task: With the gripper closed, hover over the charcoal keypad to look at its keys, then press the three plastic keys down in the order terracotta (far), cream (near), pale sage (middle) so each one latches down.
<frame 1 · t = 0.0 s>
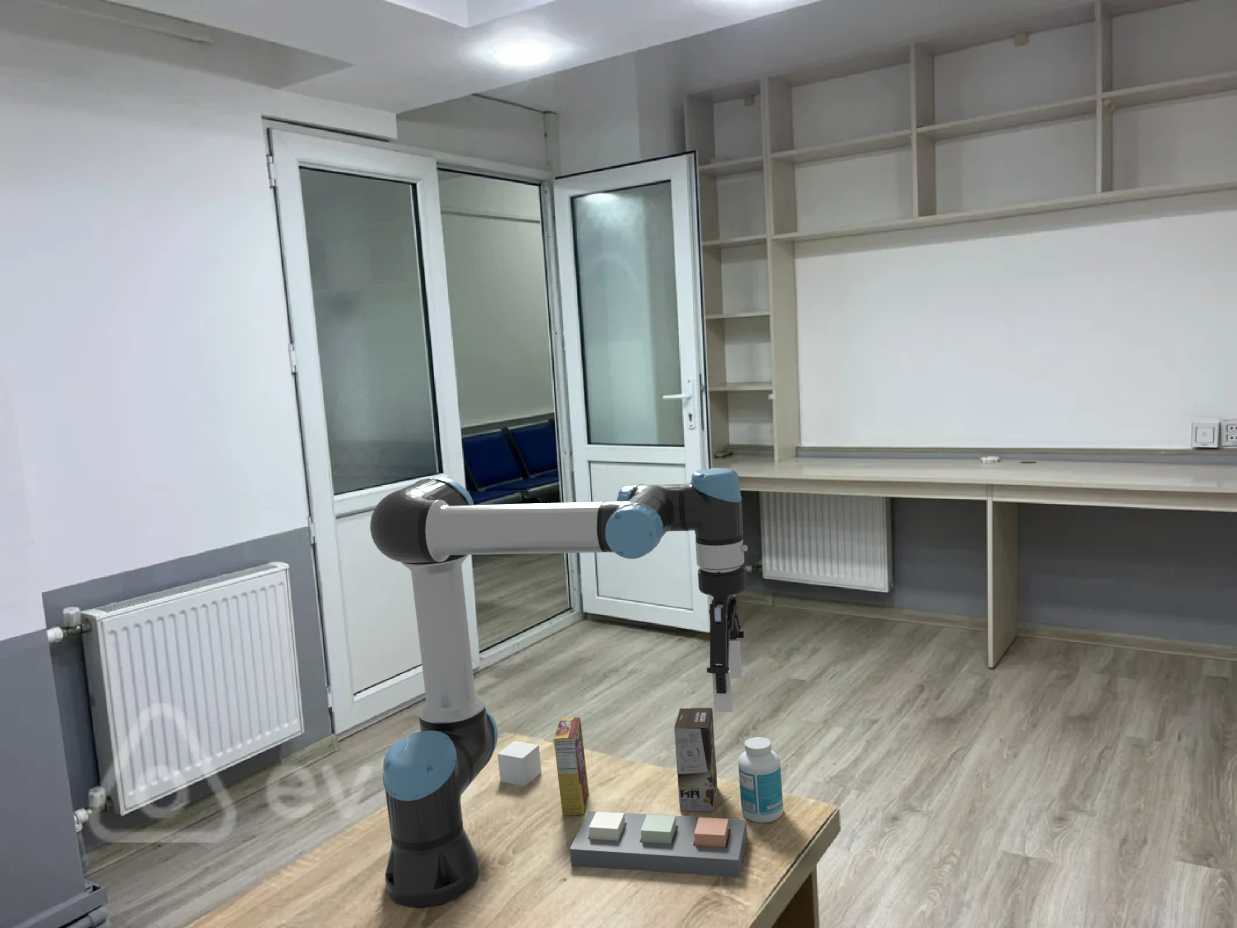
hand: (728, 693, 149), 28 cm above the table, tool pointing down, fingers open, 13 cm apart
white cube: (521, 778, 185), on the table
pill bottle: (762, 814, 165), on the table
candy box: (575, 804, 173), on the table
sage key: (659, 831, 155), point 3 cm above the table, slide at 0.0 cm
terracotta key: (712, 835, 153), point 3 cm above the table, slide at 0.0 cm
keypad: (660, 850, 155), on the table
coffee box: (699, 799, 171), on the table
cream key: (607, 828, 157), point 3 cm above the table, slide at 0.0 cm
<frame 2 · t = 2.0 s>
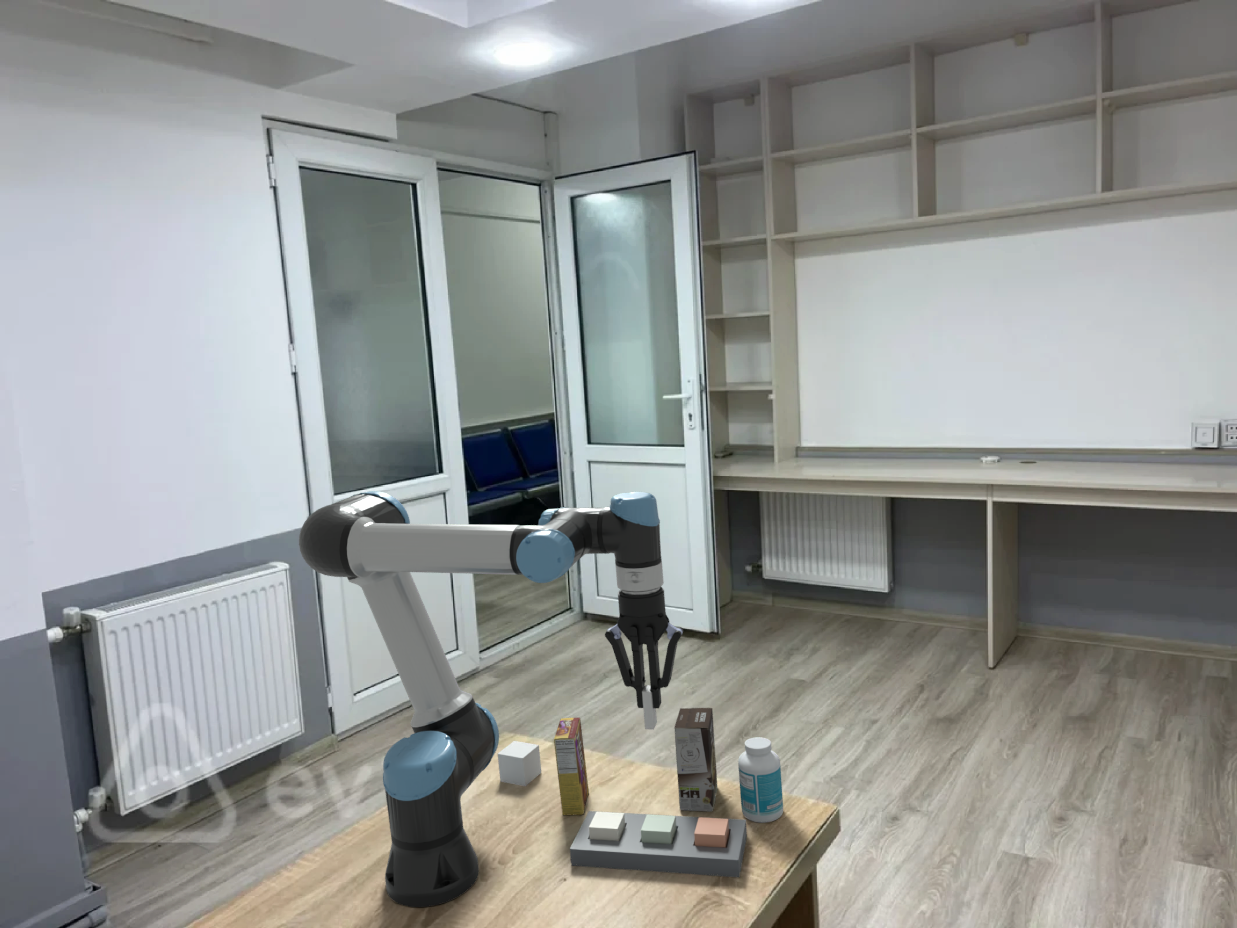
hand: (651, 725, 152), 22 cm above the table, tool pointing down, fingers closed
nothing on the table moved.
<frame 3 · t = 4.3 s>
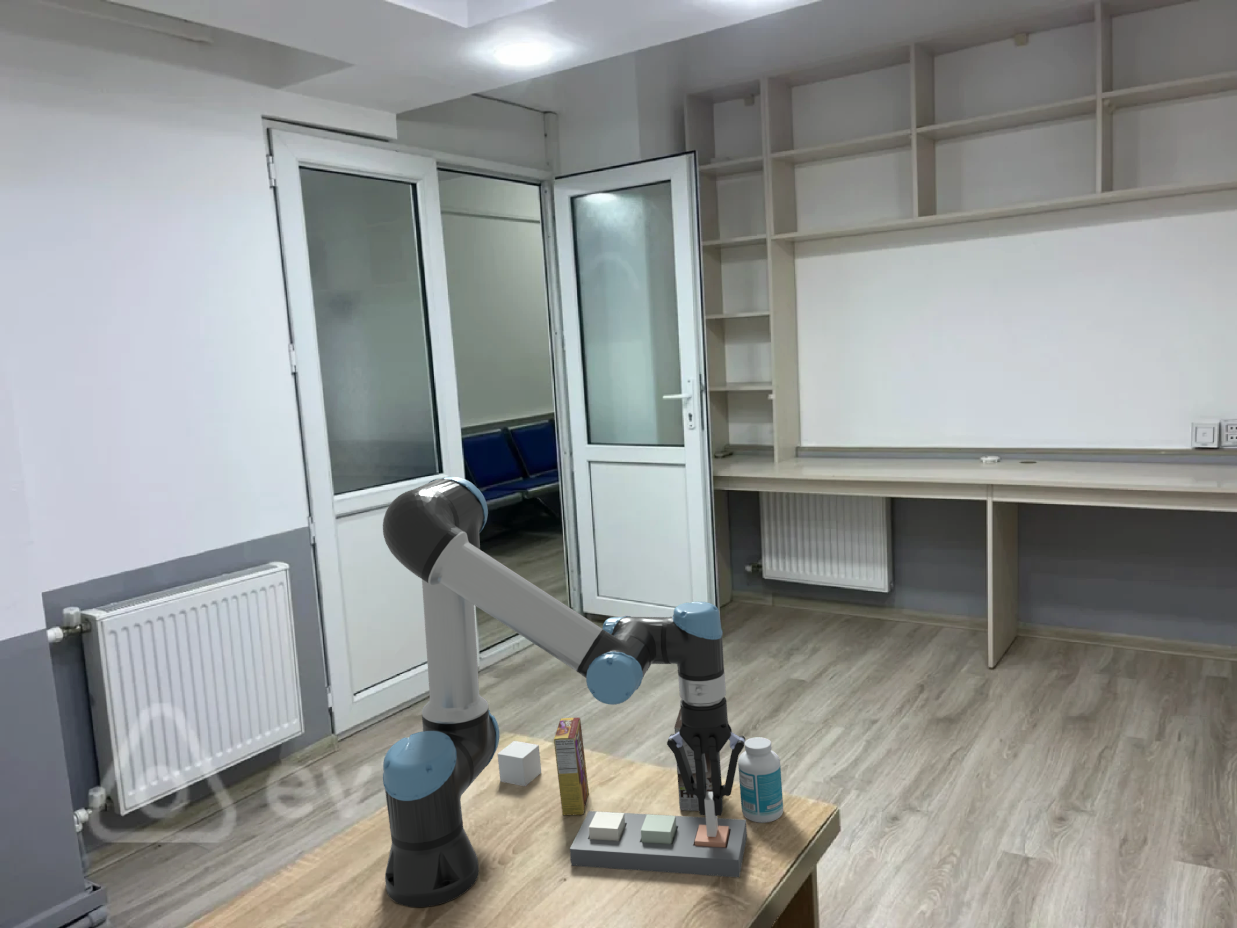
hand: (712, 831, 153), 4 cm above the table, tool pointing down, fingers closed
terracotta key: (712, 842, 153), point 2 cm above the table, slide at 1.3 cm, touching gripper
everything else where it was.
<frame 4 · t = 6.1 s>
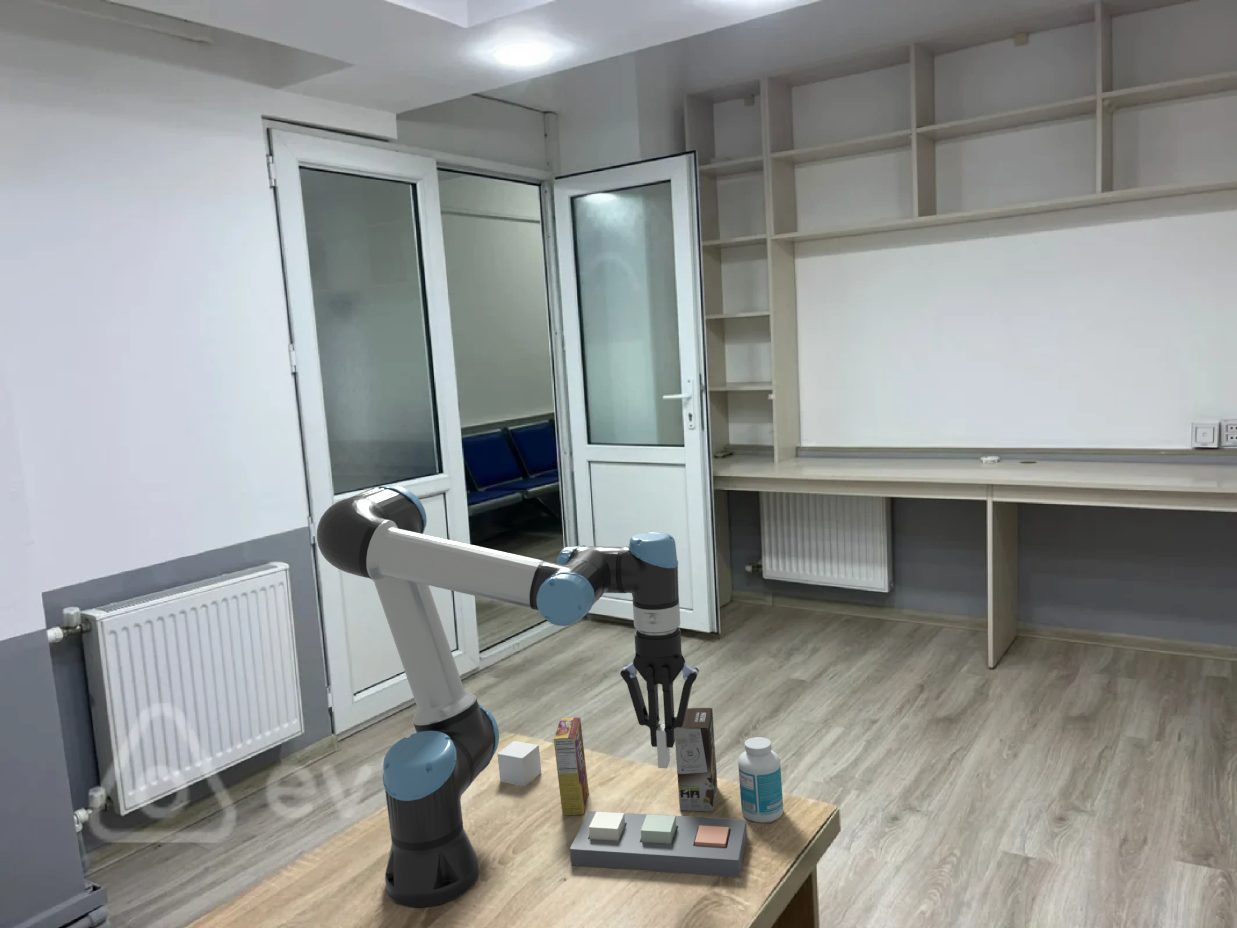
hand: (664, 763, 153), 16 cm above the table, tool pointing down, fingers closed
terracotta key: (712, 843, 153), point 2 cm above the table, slide at 1.5 cm
everything else where it was.
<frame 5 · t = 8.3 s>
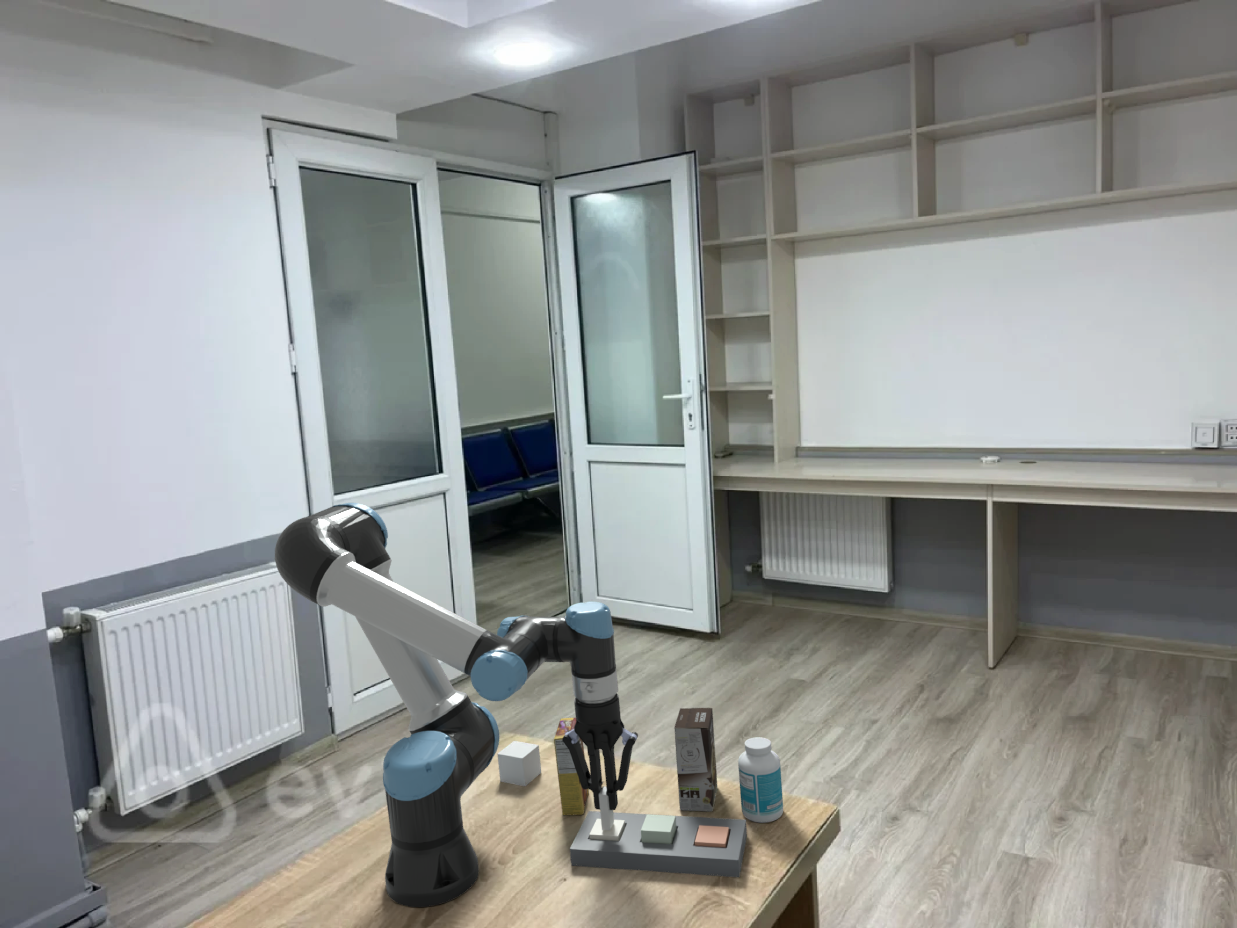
hand: (608, 825, 157), 4 cm above the table, tool pointing down, fingers closed
cream key: (608, 836, 157), point 2 cm above the table, slide at 1.3 cm, touching gripper
everything else where it was.
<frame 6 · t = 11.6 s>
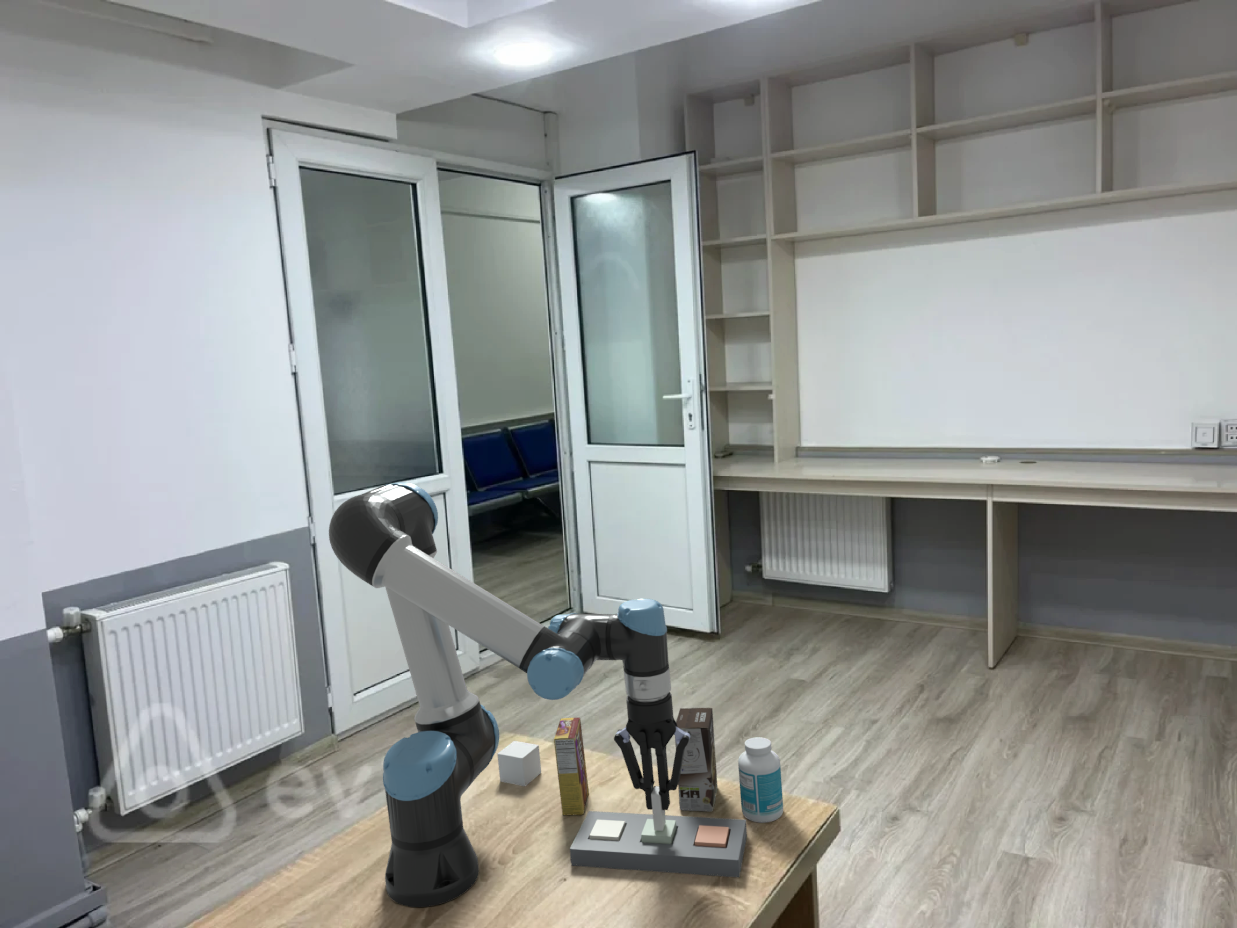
hand: (660, 826, 155), 4 cm above the table, tool pointing down, fingers closed
sage key: (659, 836, 155), point 3 cm above the table, slide at 0.8 cm, touching gripper
cream key: (608, 836, 157), point 2 cm above the table, slide at 1.5 cm
everything else where it was.
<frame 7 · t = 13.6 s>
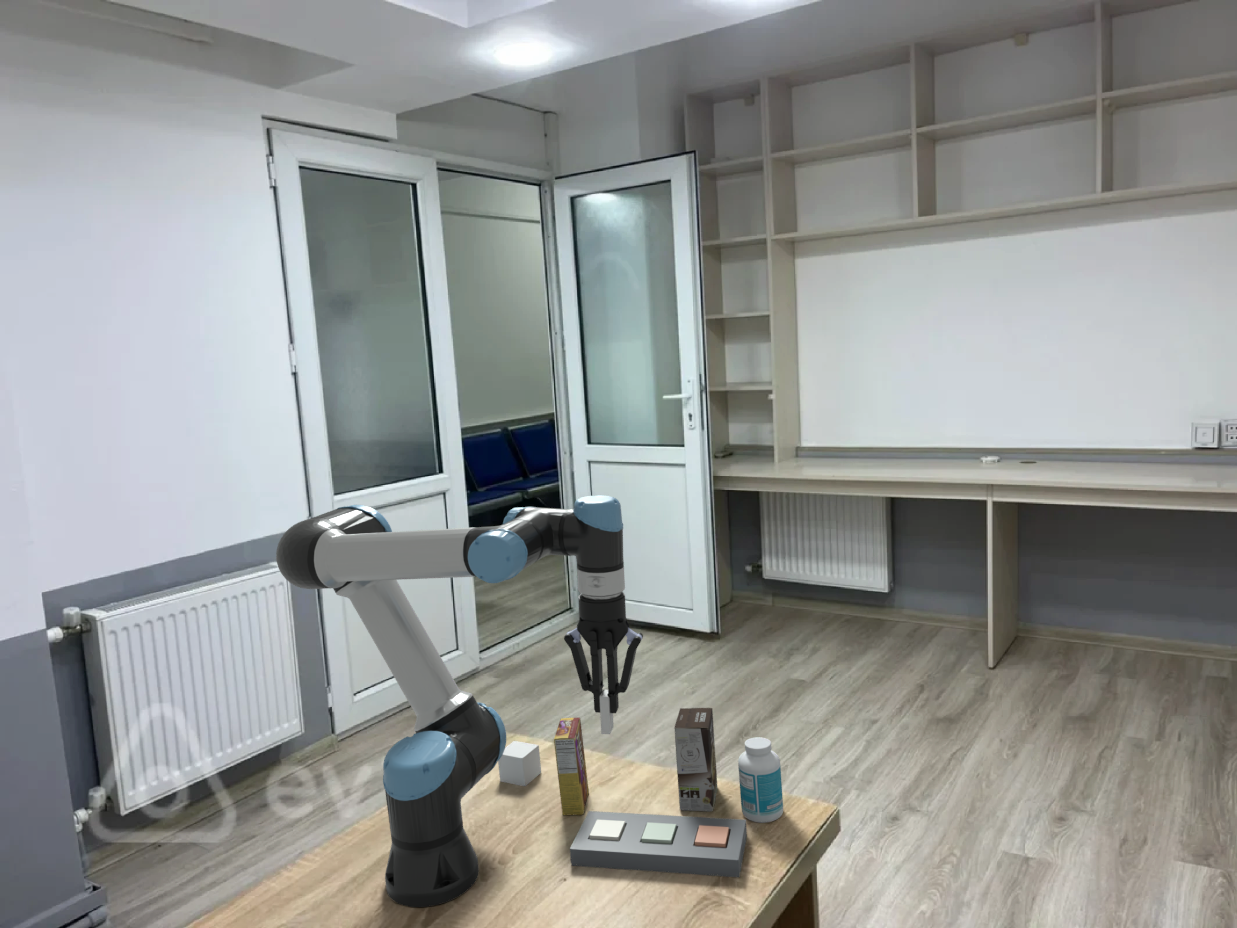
hand: (607, 730, 151), 23 cm above the table, tool pointing down, fingers closed
sage key: (659, 840, 155), point 2 cm above the table, slide at 1.5 cm
everything else where it was.
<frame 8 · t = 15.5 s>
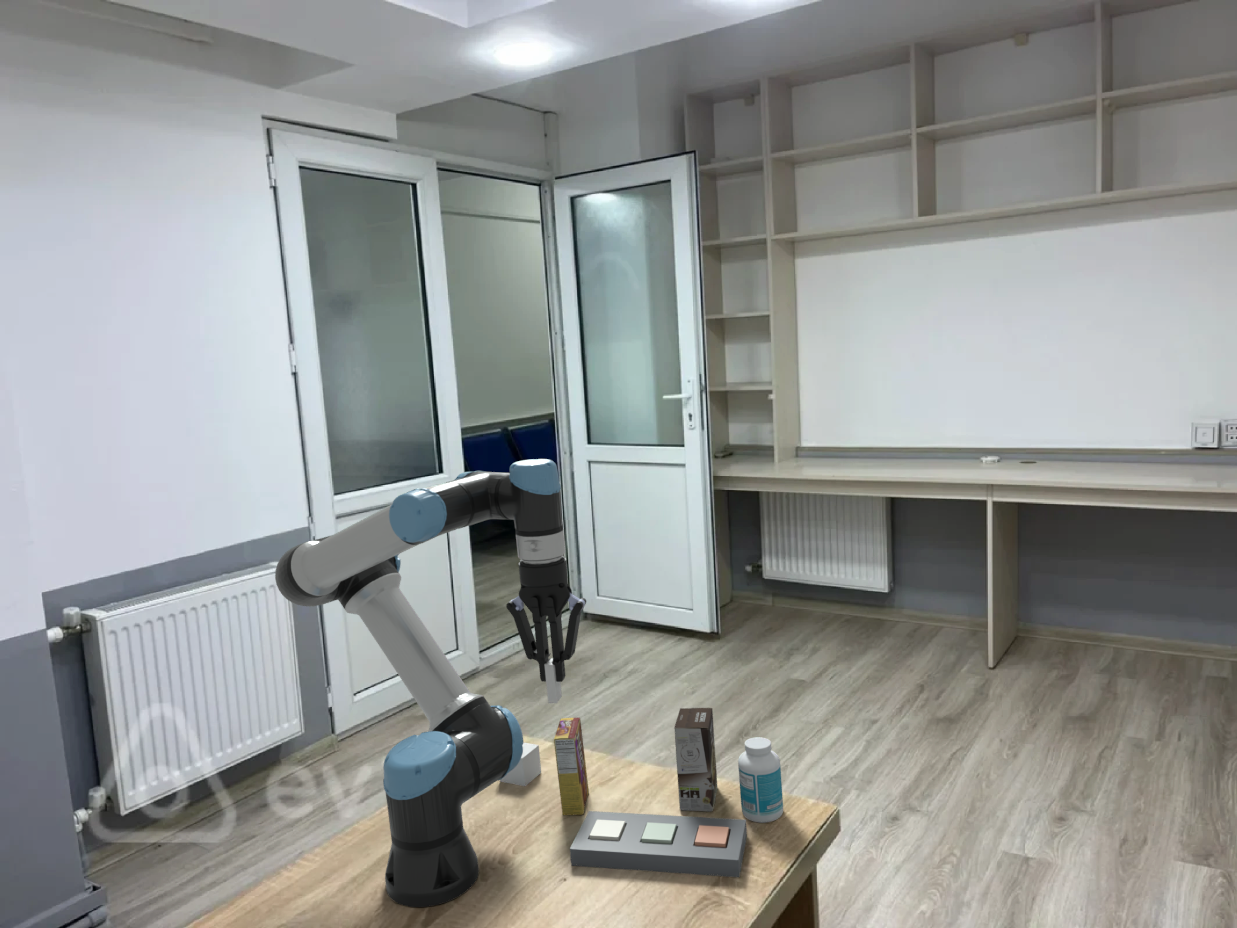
hand: (555, 699, 148), 29 cm above the table, tool pointing down, fingers closed
nothing on the table moved.
at the end: terracotta key slide at 1.5 cm; cream key slide at 1.5 cm; sage key slide at 1.5 cm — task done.
